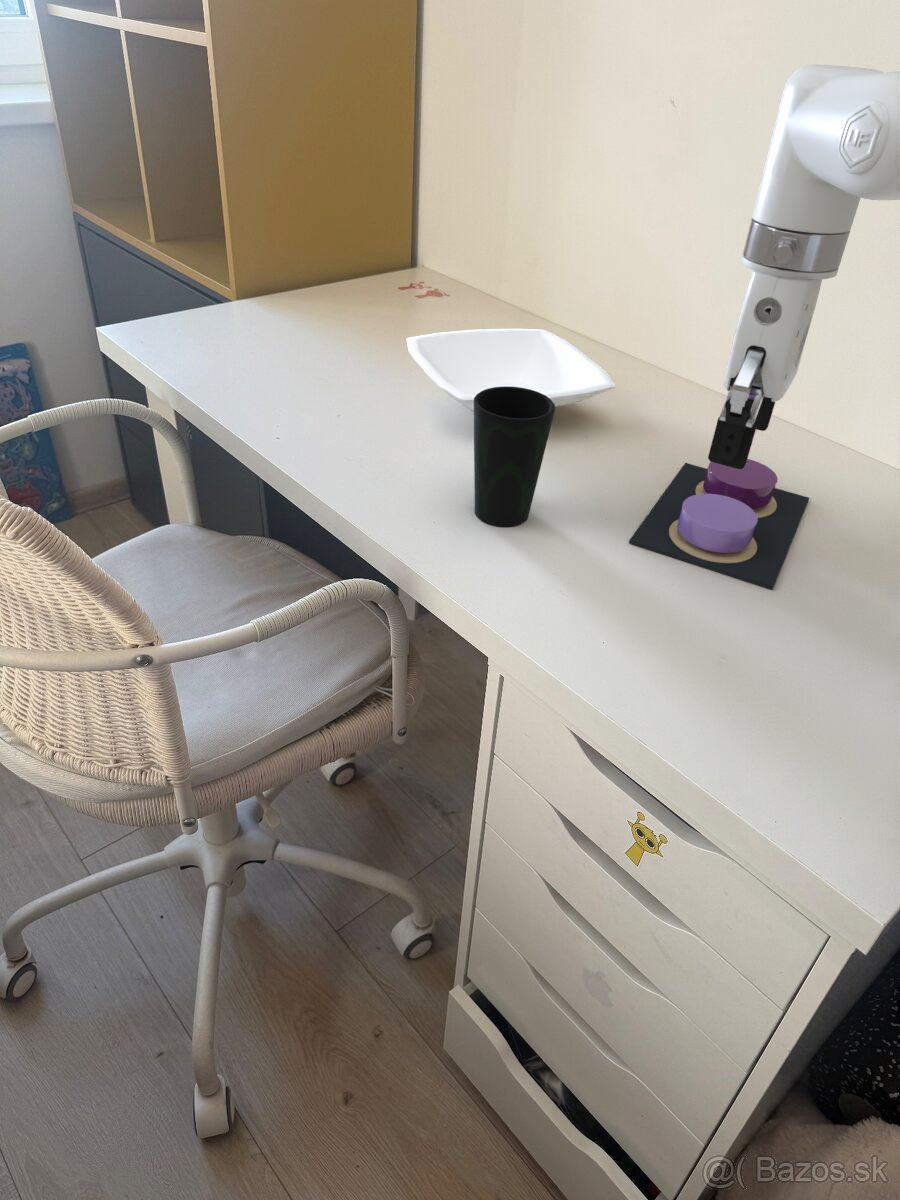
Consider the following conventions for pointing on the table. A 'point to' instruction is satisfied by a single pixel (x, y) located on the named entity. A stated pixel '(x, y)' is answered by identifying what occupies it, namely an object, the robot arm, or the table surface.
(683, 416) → the table surface
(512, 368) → the bowl
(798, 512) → the placemat
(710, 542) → the lavender short cylinder
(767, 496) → the purple short cylinder
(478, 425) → the cup
